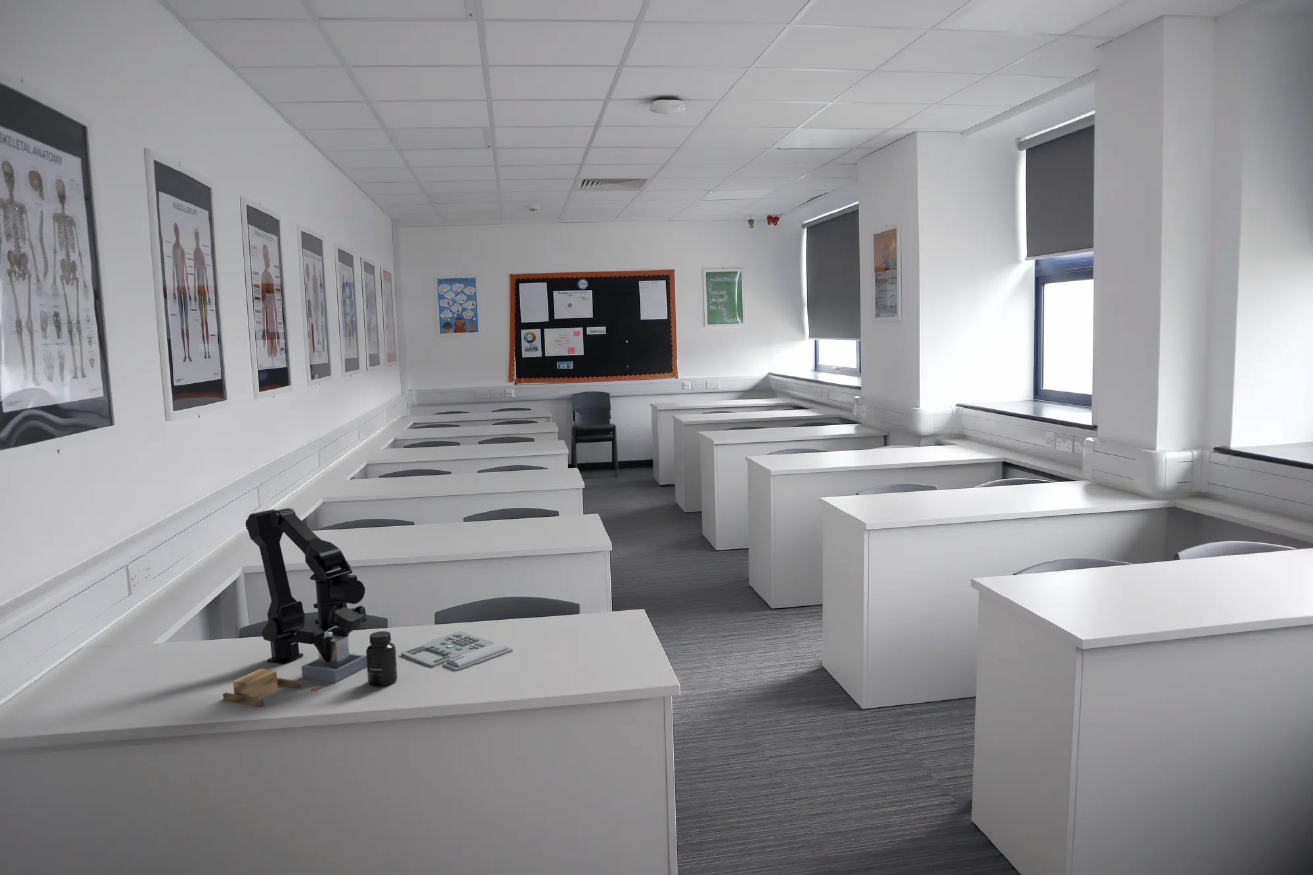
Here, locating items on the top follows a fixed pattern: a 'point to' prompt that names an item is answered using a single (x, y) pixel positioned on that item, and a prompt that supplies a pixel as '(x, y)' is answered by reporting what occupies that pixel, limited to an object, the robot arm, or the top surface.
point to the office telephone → (458, 651)
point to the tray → (334, 675)
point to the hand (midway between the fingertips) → (334, 658)
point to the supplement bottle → (381, 660)
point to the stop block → (336, 652)
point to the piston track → (260, 701)
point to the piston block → (256, 683)
